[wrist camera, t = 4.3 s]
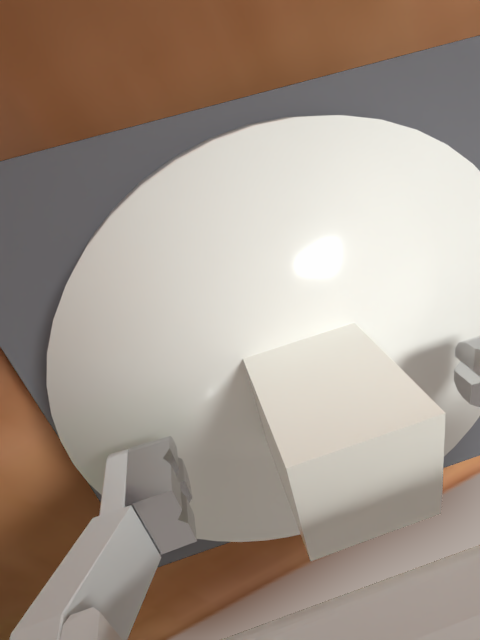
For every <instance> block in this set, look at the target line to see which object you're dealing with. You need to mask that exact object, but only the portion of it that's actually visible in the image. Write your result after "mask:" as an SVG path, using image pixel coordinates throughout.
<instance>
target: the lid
mask: <svg viewBox="0 0 480 640" xmlns="http://www.w3.org/2000/svg"><path fill="white" fill-rule="evenodd" d="M477 336H480V171H479V170H478V169H477V168H476V167H475V166H474V164H473V163H471V162H470V161H469V160H467V159H466V158H464V157H463V156H462V155H460V154H459V153H458V152H456V151H455V150H454V149H452V148H451V147H450V146H448V145H447V144H445V143H443V142H441V141H439V140H437V139H435V138H433V137H431V136H429V135H427V134H425V133H423V132H421V131H418V130H416V129H413V128H409V127H406V126H402V125H399V124H395V123H392V122H388V121H385V120H382V119H373V118H364V117H355V116H346V115H317V116H296V117H283V118H278V119H273V120H268V121H263V122H258V123H253V124H248V125H245V126H242V127H239V128H237V129H234V130H231V131H228V132H225V133H223V134H220V135H217V136H214V137H212V138H209V139H207V140H205V141H203V142H201V143H200V144H198V145H196V146H194V147H192V148H190V149H188V150H186V151H184V152H183V153H181V154H179V155H177V156H175V157H173V158H172V159H171V160H169V161H168V162H166V163H165V164H164V165H162V166H161V167H160V168H158V169H157V170H156V171H154V172H153V173H151V174H150V175H149V176H147V177H146V178H145V179H143V180H142V181H141V182H140V183H139V184H138V185H137V186H136V187H135V188H134V189H133V190H131V191H130V192H129V193H128V194H127V195H126V196H125V197H124V198H123V199H122V200H121V201H120V202H119V203H118V204H117V205H116V206H115V207H114V208H113V209H112V211H111V212H110V213H109V215H108V216H107V217H106V219H105V220H104V221H103V222H102V224H101V225H100V226H99V228H98V229H97V230H96V232H95V233H94V234H93V236H92V237H91V238H90V240H89V242H88V244H87V246H86V247H85V249H84V251H83V253H82V255H81V256H80V258H79V260H78V262H77V264H76V266H75V267H74V269H73V271H72V273H71V275H70V278H69V280H68V282H67V284H66V286H65V289H64V291H63V294H62V297H61V300H60V302H59V305H58V308H57V311H56V313H55V316H54V319H53V323H52V329H51V334H50V339H49V345H48V350H47V383H46V385H47V392H48V398H49V404H50V410H51V415H52V418H53V421H54V424H55V427H56V430H57V432H58V435H59V438H60V441H61V443H62V444H63V446H64V448H65V450H66V452H67V453H68V455H69V457H70V459H71V461H72V463H73V464H74V465H75V467H76V468H77V469H78V470H79V472H80V473H81V474H82V475H83V477H84V478H85V479H86V480H87V482H88V483H89V484H90V485H91V486H92V487H93V488H94V489H95V490H96V491H98V492H99V493H100V494H101V495H102V489H103V481H104V474H105V466H106V460H107V458H108V456H109V454H113V453H116V452H120V451H123V450H127V449H130V448H132V447H135V446H138V445H142V444H145V443H148V442H152V441H155V440H158V439H162V438H165V437H168V436H171V437H172V438H173V440H174V442H175V444H176V446H177V454H178V457H179V458H181V459H182V460H183V462H184V465H185V467H186V470H187V473H188V477H189V481H190V486H191V492H192V499H191V501H190V503H189V504H190V507H191V509H192V511H193V513H194V518H195V527H196V537H197V539H204V540H211V541H224V542H250V541H265V540H272V539H279V538H286V537H291V536H295V535H300V534H301V537H302V540H303V542H304V545H305V548H306V550H307V553H308V556H309V559H310V561H313V560H316V559H319V558H322V557H324V556H327V555H330V554H333V553H335V552H338V551H341V550H344V549H346V548H349V547H352V546H354V545H357V544H360V543H363V542H365V541H368V540H371V539H374V538H376V537H379V536H382V535H385V534H387V533H390V532H393V531H395V530H398V529H401V528H404V527H406V526H409V525H412V524H415V523H417V522H420V521H423V520H425V519H428V518H431V517H434V516H436V515H439V514H441V510H442V487H443V463H444V456H445V455H446V454H447V453H448V452H449V451H451V450H452V449H453V448H454V447H455V446H456V444H457V443H458V442H459V441H460V440H461V439H462V438H463V436H464V435H465V434H466V433H467V432H468V431H469V430H470V428H471V427H472V426H473V425H474V423H475V422H476V421H477V419H478V418H479V416H480V407H477V406H474V405H471V404H469V403H468V402H467V401H466V400H465V399H464V398H463V397H462V396H461V394H460V393H459V392H458V390H457V387H456V385H455V382H454V369H455V368H456V366H457V365H458V363H459V362H460V361H459V360H458V359H457V358H456V357H455V348H456V346H457V344H458V343H459V342H462V341H465V340H468V339H471V338H474V337H477Z"/></svg>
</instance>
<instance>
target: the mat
mask: <svg viewBox="0 0 480 640" xmlns="http://www.w3.org/2000/svg"><path fill="white" fill-rule="evenodd" d="M317 115H346V116H355V117H364V118H373V119H382V120H385V121H388V122H392V123H395V124H399V125H402V126H406V127H409V128H413V129H416V130H418V131H421V132H423V133H425V134H427V135H429V136H431V137H433V138H435V139H437V140H439V141H441V142H443V143H445V144H447V145H448V146H450V147H451V148H452V149H454V150H455V151H456V152H458V153H459V154H460V155H462V156H463V157H464V158H466V159H467V160H469V161H470V162H471V163H473V164H474V166H475V167H476V168H477V169H478V170H479V171H480V35H479V36H475V37H471V38H468V39H464V40H460V41H456V42H452V43H449V44H445V45H441V46H437V47H433V48H430V49H426V50H422V51H418V52H414V53H411V54H407V55H403V56H399V57H395V58H392V59H388V60H384V61H380V62H376V63H373V64H369V65H365V66H361V67H357V68H354V69H350V70H346V71H342V72H338V73H335V74H331V75H327V76H323V77H319V78H315V79H312V80H308V81H304V82H300V83H296V84H293V85H289V86H285V87H281V88H277V89H274V90H270V91H266V92H262V93H258V94H255V95H251V96H247V97H243V98H239V99H236V100H232V101H228V102H224V103H220V104H217V105H213V106H209V107H205V108H201V109H198V110H194V111H190V112H186V113H182V114H179V115H175V116H171V117H167V118H163V119H160V120H156V121H152V122H148V123H144V124H141V125H137V126H133V127H129V128H125V129H122V130H118V131H114V132H110V133H106V134H103V135H99V136H95V137H91V138H87V139H84V140H80V141H76V142H72V143H68V144H65V145H61V146H57V147H53V148H49V149H46V150H42V151H38V152H34V153H30V154H27V155H23V156H19V157H15V158H11V159H8V160H4V161H0V347H1V349H2V350H3V352H4V353H5V355H6V356H7V358H8V359H9V361H10V363H11V364H12V366H13V367H14V369H15V370H16V372H17V373H18V375H19V377H20V378H21V380H22V381H23V383H24V384H25V386H26V387H27V389H28V390H29V392H30V394H31V395H32V397H33V398H34V400H35V401H36V403H37V404H38V406H39V408H40V409H41V411H42V412H43V414H44V415H45V417H46V418H47V420H48V422H49V423H50V425H51V426H52V428H53V429H54V431H55V432H56V434H57V435H58V432H57V430H56V427H55V424H54V421H53V418H52V415H51V410H50V404H49V398H48V392H47V385H46V383H47V350H48V345H49V339H50V334H51V329H52V323H53V319H54V316H55V313H56V311H57V308H58V305H59V302H60V300H61V297H62V294H63V291H64V289H65V286H66V284H67V282H68V280H69V278H70V275H71V273H72V271H73V269H74V267H75V266H76V264H77V262H78V260H79V258H80V256H81V255H82V253H83V251H84V249H85V247H86V246H87V244H88V242H89V240H90V238H91V237H92V236H93V234H94V233H95V232H96V230H97V229H98V228H99V226H100V225H101V224H102V222H103V221H104V220H105V219H106V217H107V216H108V215H109V213H110V212H111V211H112V209H113V208H114V207H115V206H116V205H117V204H118V203H119V202H120V201H121V200H122V199H123V198H124V197H125V196H126V195H127V194H128V193H129V192H130V191H131V190H133V189H134V188H135V187H136V186H137V185H138V184H139V183H140V182H141V181H142V180H143V179H145V178H146V177H147V176H149V175H150V174H151V173H153V172H154V171H156V170H157V169H158V168H160V167H161V166H162V165H164V164H165V163H166V162H168V161H169V160H171V159H172V158H173V157H175V156H177V155H179V154H181V153H183V152H184V151H186V150H188V149H190V148H192V147H194V146H196V145H198V144H200V143H201V142H203V141H205V140H207V139H209V138H212V137H214V136H217V135H220V134H223V133H225V132H228V131H231V130H234V129H237V128H239V127H242V126H245V125H248V124H253V123H258V122H263V121H268V120H273V119H278V118H283V117H296V116H317ZM58 437H59V435H58ZM59 439H60V438H59ZM479 455H480V416H479V418H478V419H477V421H476V422H475V423H474V425H473V426H472V427H471V428H470V430H469V431H468V432H467V433H466V434H465V435H464V436H463V438H462V439H461V440H460V441H459V442H458V443H457V444H456V446H455V447H454V448H453V449H452V450H451V451H449V452H448V453H447V454H446V455H445V456H444V463H443V468H445V467H447V466H450V465H453V464H456V463H459V462H462V461H465V460H468V459H470V458H473V457H476V456H479ZM88 484H89V483H88ZM89 485H90V484H89ZM90 487H91V488H92V490H93V491H94V493H95V494H96V496H97V498H98V499H99V501H100V502H101V497H102V495H101V494H100V493H99V492H98V491H96V490H95V489H94V488H93V487H92V486H91V485H90ZM226 543H229V542H224V541H211V540H204V539H197V541H196V542H194V543H191V544H188V545H186V546H183V547H180V548H178V549H175V550H172V551H170V552H167V553H164V554H162V555H160V556H161V560H160V562H159V564H158V567H160V566H163V565H166V564H169V563H172V562H174V561H177V560H180V559H183V558H186V557H189V556H192V555H195V554H197V553H200V552H203V551H206V550H209V549H212V548H215V547H218V546H220V545H223V544H226Z"/></svg>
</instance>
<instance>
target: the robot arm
mask: <svg viewBox="0 0 480 640" xmlns="http://www.w3.org/2000/svg"><path fill="white" fill-rule="evenodd" d="M455 357H456V358H457V359H458V360H459V361H460V362H459V363H458V365H457V366H456V368H455V369H454V382H455V385H456V387H457V390H458V392H459V393H460V394H461V396H462V397H463V398H464V399H465V400H466V401H467V402H468V403H469V404H471V405H474V406H477V407H480V336H477V337H474V338H471V339H468V340H465V341H462V342H459V343H458V344H457V346H456V348H455ZM191 499H192V492H191V486H190V481H189V477H188V473H187V470H186V467H185V465H184V462H183V460H182V459H181V458H179V457H178V454H177V446H176V444H175V442H174V440H173V438H172V437H171V436H168V437H165V438H162V439H158V440H155V441H152V442H148V443H145V444H142V445H138V446H135V447H132V448H130V449H127V450H123V451H120V452H116V453H113V454H109V456H108V458H107V460H106V466H105V474H104V481H103V489H102V497H101V505H100V513H99V516H97V517H94V518H92V520H91V521H90V522H89V524H88V525H87V527H86V528H85V529H84V531H83V532H82V534H81V535H80V537H79V538H78V539H77V541H76V542H75V544H74V545H73V546H72V548H71V549H70V551H69V552H68V554H67V555H66V556H65V558H64V559H63V561H62V562H61V563H60V565H59V566H58V568H57V569H56V571H55V572H54V573H53V575H52V576H51V578H50V579H49V580H48V582H47V583H46V585H45V586H44V587H43V589H42V590H41V592H40V593H39V595H38V596H37V597H36V599H35V600H34V602H33V603H32V604H31V606H30V607H29V609H28V610H27V612H26V613H25V614H24V616H23V617H22V619H21V620H20V621H19V623H18V624H17V626H16V627H15V629H14V630H13V631H12V633H11V636H10V639H9V640H127V639H128V637H129V634H130V632H131V629H132V627H133V625H134V622H135V620H136V617H137V615H138V613H139V610H140V608H141V605H142V603H143V600H144V598H145V596H146V593H147V591H148V588H149V586H150V584H151V581H152V579H153V576H154V574H155V572H156V569H157V567H158V564H159V562H160V560H161V556H160V555H162V554H164V553H167V552H170V551H172V550H175V549H178V548H180V547H183V546H186V545H188V544H191V543H194V542H196V541H197V537H196V527H195V518H194V513H193V511H192V509H191V507H190V504H189V503H190V501H191ZM222 640H480V545H478V546H476V547H473V548H470V549H467V550H464V551H462V552H459V553H457V554H454V555H451V556H448V557H445V558H443V559H440V560H437V561H434V562H432V563H429V564H426V565H424V566H421V567H418V568H416V569H413V570H410V571H407V572H405V573H402V574H399V575H396V576H394V577H391V578H388V579H386V580H383V581H380V582H377V583H374V584H372V585H369V586H366V587H364V588H361V589H358V590H356V591H353V592H350V593H347V594H344V595H342V596H339V597H336V598H334V599H331V600H328V601H326V602H323V603H320V604H317V605H315V606H312V607H309V608H306V609H303V610H301V611H298V612H296V613H293V614H290V615H287V616H284V617H282V618H279V619H276V620H273V621H271V622H268V623H265V624H262V625H260V626H257V627H254V628H252V629H249V630H246V631H243V632H241V633H238V634H235V635H232V636H230V637H227V638H224V639H222Z"/></svg>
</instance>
